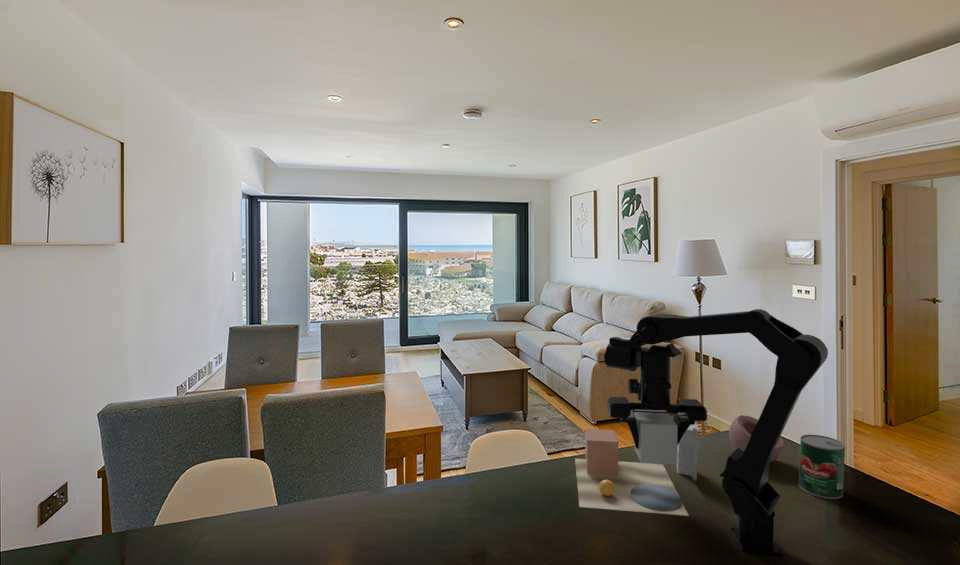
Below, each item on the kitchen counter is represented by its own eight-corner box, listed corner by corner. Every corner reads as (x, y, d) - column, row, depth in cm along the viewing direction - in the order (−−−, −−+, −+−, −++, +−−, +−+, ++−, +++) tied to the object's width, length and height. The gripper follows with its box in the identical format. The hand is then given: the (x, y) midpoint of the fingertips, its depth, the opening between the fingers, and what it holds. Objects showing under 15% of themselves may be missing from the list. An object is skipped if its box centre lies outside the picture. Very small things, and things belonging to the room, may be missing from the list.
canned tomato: (801, 494, 98) (803, 444, 97) (795, 478, 105) (797, 431, 104) (847, 503, 94) (849, 451, 94) (838, 485, 101) (840, 438, 101)
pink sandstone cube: (618, 475, 104) (618, 442, 104) (587, 473, 106) (587, 440, 105) (614, 461, 111) (614, 430, 111) (585, 460, 112) (585, 428, 112)
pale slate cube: (677, 464, 90) (677, 425, 90) (640, 462, 91) (640, 424, 91) (668, 449, 97) (668, 413, 97) (634, 448, 98) (634, 412, 98)
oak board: (688, 521, 88) (688, 514, 88) (579, 512, 92) (579, 505, 92) (662, 468, 110) (662, 463, 110) (574, 463, 113) (575, 457, 113)
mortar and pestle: (775, 477, 105) (777, 429, 105) (721, 460, 114) (722, 416, 113) (789, 461, 113) (791, 416, 113) (737, 446, 122) (738, 405, 121)
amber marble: (615, 499, 94) (615, 484, 94) (599, 498, 95) (599, 483, 95) (613, 491, 97) (613, 477, 97) (598, 490, 98) (598, 476, 98)
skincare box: (675, 467, 111) (676, 419, 110) (695, 470, 109) (696, 421, 108) (677, 479, 105) (678, 428, 104) (698, 482, 103) (699, 430, 103)
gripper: (691, 366, 100) (690, 435, 101) (604, 365, 103) (604, 432, 104) (708, 380, 89) (707, 457, 90) (610, 377, 92) (610, 452, 93)
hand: (655, 448), depth 94 cm, fingers closed on pale slate cube, 7 cm apart
